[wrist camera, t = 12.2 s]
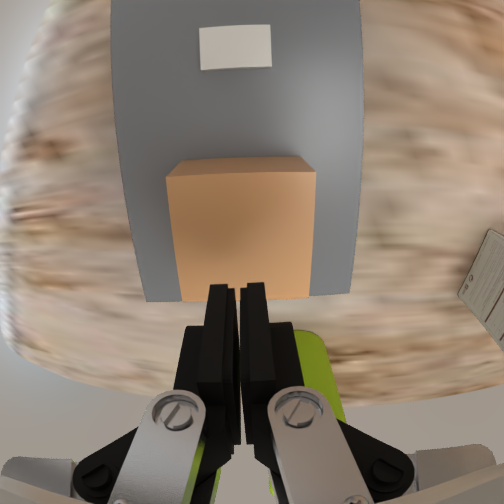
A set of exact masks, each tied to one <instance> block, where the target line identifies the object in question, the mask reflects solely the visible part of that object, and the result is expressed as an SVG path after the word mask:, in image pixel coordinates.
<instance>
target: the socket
mask: <svg viewBox="0 0 504 504" xmlns="http://www.w3.org/2000/svg"><path fill="white" fill-rule="evenodd" d="M111 69H112V88H113V102H114V114H115V125H116V135H117V144H118V152H119V160H120V168H121V175H122V182H123V188H124V195H125V201H126V207H127V213H128V218H129V224H130V229H131V234H132V240H133V245H134V249H135V254H136V259H137V264H138V268H139V273H140V277H141V281H142V286H143V290H144V294H145V298H146V302H180V301H182V296H181V290H180V284H179V278H178V271H177V264H176V258H175V251H174V243H173V236H172V228H171V220H170V212H169V204H168V195H167V185H166V176H167V175H168V174H169V173H170V172H171V171H172V170H173V169H174V168H175V167H176V166H177V165H178V164H179V163H180V162H181V161H183V160H198V159H216V158H239V157H302V158H303V159H304V160H305V161H306V162H307V163H308V164H309V165H310V166H311V167H312V168H313V169H314V170H315V171H316V190H315V212H314V231H313V248H312V262H311V276H310V289H309V296H319V295H334V294H347V293H350V286H351V278H352V271H353V263H354V255H355V246H356V236H357V227H358V216H359V204H360V191H361V175H362V156H363V124H364V77H363V47H362V29H361V15H360V3H359V0H111Z"/></svg>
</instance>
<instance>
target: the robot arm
mask: <svg viewBox="0 0 504 504" xmlns="http://www.w3.org/2000/svg"><path fill="white" fill-rule="evenodd" d="M240 382H241V394H242V404H243V414H244V423H245V433H246V442H247V444H254V454H255V458H256V459H257V460H258V461H260V462H261V463H262V464H264V465H265V466H267V467H268V473H269V477H270V481H271V484H272V488H273V492H274V496H275V499H276V502H277V504H504V463H502V464H499V465H496V461H495V457H494V455H493V453H492V451H490V449H488V447H485V446H483V445H481V444H472V445H465V446H458V447H450V448H442V449H432V450H419V451H416V452H415V453H414V454H404V453H403V452H402V451H400V450H398V449H396V448H394V447H392V446H390V445H387V444H385V443H383V442H381V441H379V440H377V439H375V438H373V437H371V436H369V435H367V434H365V433H363V432H361V431H359V430H358V429H356V428H354V427H352V426H350V425H348V424H346V423H344V422H342V421H341V420H339V419H337V418H336V417H335V415H334V413H333V411H332V408H331V406H330V404H329V402H328V400H327V399H326V398H325V396H324V395H323V394H321V393H320V392H319V391H317V390H315V389H312V388H310V387H305V384H304V379H303V374H302V369H301V364H300V359H299V355H298V350H297V345H296V340H295V335H294V330H293V326H292V323H291V322H279V323H269V318H268V309H267V301H266V293H265V284H264V282H253V283H247V287H244V288H240V347H239V335H238V322H237V310H236V297H235V288H228V284H210V287H209V294H208V300H207V307H206V314H205V321H204V326H187V327H186V329H185V333H184V338H183V343H182V347H181V352H180V357H179V362H178V367H177V372H176V378H175V383H174V388H173V390H171V391H166V392H164V393H161V394H159V395H157V396H156V397H155V398H154V399H153V400H152V401H151V402H150V404H149V405H148V406H147V408H146V411H145V413H144V415H143V418H142V420H141V423H140V425H139V427H137V428H135V429H134V430H132V431H130V432H129V433H127V434H125V435H124V436H122V437H120V438H119V439H117V440H115V441H114V442H112V443H110V444H109V445H107V446H105V447H103V448H102V449H100V450H98V451H97V452H95V453H93V454H91V455H89V456H88V457H86V458H84V459H83V460H82V461H80V462H74V461H73V460H72V459H46V458H30V457H13V458H11V459H9V460H8V461H7V462H6V463H5V464H4V466H3V468H2V471H1V475H0V504H214V502H215V497H216V492H217V488H218V483H219V478H220V474H221V466H223V465H224V464H225V463H227V462H228V461H229V460H230V459H231V454H234V445H240V444H241V399H240Z"/></svg>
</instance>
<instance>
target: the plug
mask: <svg viewBox="0 0 504 504" xmlns="http://www.w3.org/2000/svg"><path fill="white" fill-rule="evenodd" d="M166 185H167V195H168V204H169V212H170V220H171V228H172V236H173V243H174V251H175V258H176V264H177V271H178V278H179V284H180V290H181V296H182V302H207V300H208V294H209V287H210V284H228V288H235V297H236V301H240V288H244V287H247V283H253V282H264V284H265V293H266V300H278V299H299V298H309V289H310V276H311V262H312V248H313V231H314V212H315V190H316V171H315V170H314V169H313V168H312V167H311V166H310V165H309V164H308V163H307V162H306V161H305V160H304V159H303V158H302V157H239V158H216V159H198V160H183V161H181V162H180V163H179V164H178V165H177V166H176V167H175V168H174V169H173V170H172V171H171V172H170V173H169V174H168V175H167V176H166Z"/></svg>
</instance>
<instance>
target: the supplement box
mask: <svg viewBox="0 0 504 504" xmlns="http://www.w3.org/2000/svg"><path fill="white" fill-rule="evenodd" d="M458 296H459V298H460V299H461V300H462V301H463V302H464V303H465V304H466V306H467V307H468V308H469V309H470V310H471V311H472V313H473V314H474V315H475V316H476V317H477V319H478V320H479V321H480V322H481V324H482V325H483V326H484V327H485V329H486V330H487V331H488V332H489V334H490V335H491V336H492V338H493V339H494V340H495V342H496V343H497V344H498V346H499V347H500V348H501V350H502V351H503V352H504V236H502V235H500V234H498V233H496V232H494V231H492V230H489V231H488V233H487V235H486V237H485V239H484V241H483V244H482V246H481V248H480V250H479V253H478V255H477V257H476V259H475V261H474V263H473V265H472V267H471V269H470V271H469V273H468V275H467V277H466V279H465V281H464V283H463V285H462V287H461V289H460V291H459V293H458Z"/></svg>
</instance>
